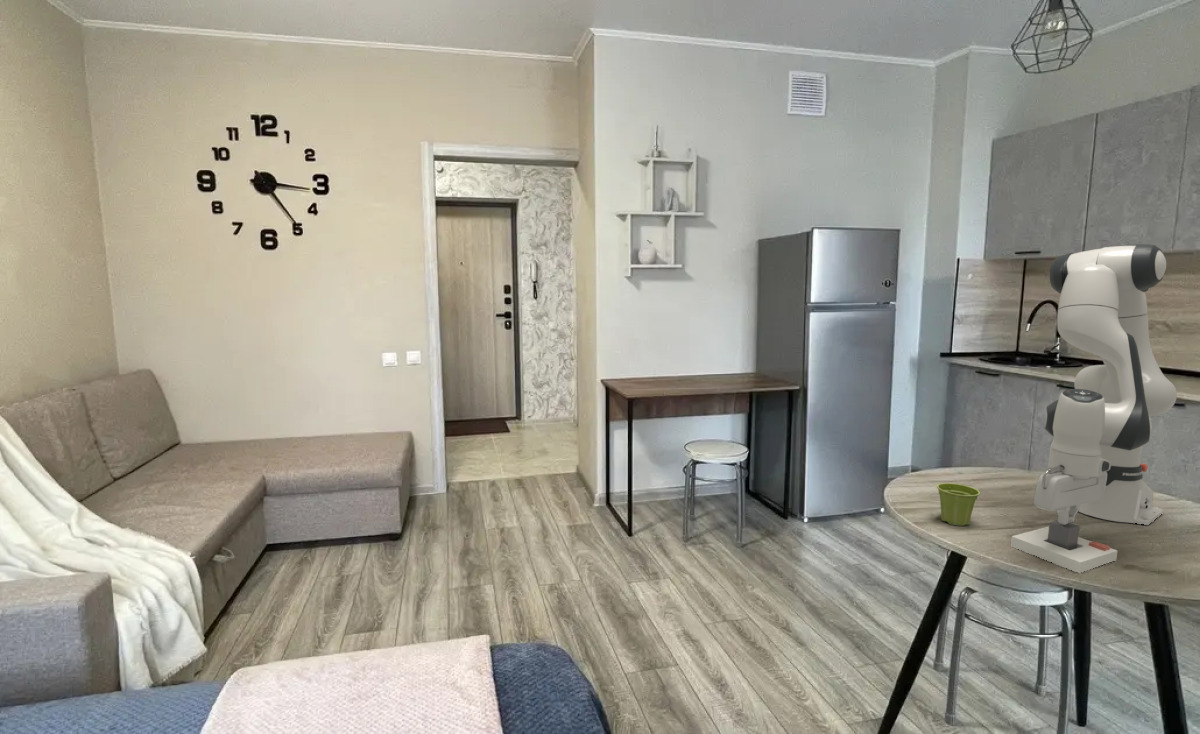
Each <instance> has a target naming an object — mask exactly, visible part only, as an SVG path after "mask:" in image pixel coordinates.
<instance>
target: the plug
mask: <svg viewBox="0 0 1200 734" xmlns="http://www.w3.org/2000/svg"><path fill="white" fill-rule="evenodd" d="M1048 527H1049V532H1048V540H1047V542H1048V543H1051V544H1054V545H1056V546H1059V547H1062V548H1065V549H1067V550H1073V549H1076V548H1077V543H1078V537H1079V535H1080V529H1081V528H1080V527H1081V526H1080V525H1078V524H1075V523H1074V522H1073V523H1069V524H1066V525H1064V524H1061V523H1059V522H1058V519H1057V520H1052V521H1050V522H1049V524H1048Z"/></svg>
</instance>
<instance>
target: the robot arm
mask: <svg viewBox="0 0 1200 734" xmlns="http://www.w3.org/2000/svg"><path fill="white" fill-rule="evenodd" d="M1166 270H1167V259H1166V256H1165V255H1164V252H1163V250H1162V248H1160V247H1158V246H1157V245H1155V244H1147V243H1145V244H1144V243H1138V244H1136V245H1118V246H1117V245H1116V246H1115V245H1114V246H1106V247H1105V246H1104V247H1102V248H1095V249H1090V250H1084V251H1080V252H1079V251H1078V252H1075V253H1074V252H1069V253H1066V254H1063V255H1059V256H1058V257H1057V258H1055V259H1054V260H1053V261H1052V263H1051V265H1050V268H1049V275H1048V276H1049V277H1048V278H1049V283H1050V286H1051V288H1052V289H1053V290H1054V291H1055V292H1057V293H1059V294H1060V296H1059V301H1058V306H1057V316H1056V317H1057V318H1056V321H1057V322H1056V324H1057V325H1056V326H1057V332H1058V334H1059V335H1060V337H1061V338H1062V340H1064V341H1065V342H1066V343H1068V344H1069V345H1071V346H1073V347H1074V348H1077V349H1078V350H1081V351H1084V352H1087V353H1089V354H1092V355H1095V356H1097V357H1100V358H1101V359H1102V362H1103V364H1095V365H1089V366H1086V367H1084V368H1082V369H1081V370H1080V371H1078V373H1077V374H1076V376H1075V378H1074V383H1073V385H1074V388H1070V389H1066V390H1065V389H1064V390H1063V391H1062V392H1061V393H1060V394H1059V397H1058V399H1057V400H1055V401H1053V402H1052V403H1050V404H1049V405H1047V406H1046V413H1047V414H1046V421H1045V424H1044V425H1045V426H1044V428H1043V429H1044V430H1045V431H1046V432H1047V433H1048V434H1049V435H1050V436H1052V437H1053V439H1052V442H1051V444H1050V446H1049V447H1050V448H1049V454H1048V462H1047V469H1046V471H1045V472H1044V473H1043V474H1040V476H1039V478H1038V481H1037V484H1036V487H1035V488H1036V489H1035V493H1034V497H1033V498H1034V499H1033V504H1034V506H1035V507H1036V508H1038V509H1041V510H1044V511H1048V512H1054V511H1056V513H1057V520H1058V522H1059V523H1061V524H1064V525H1066V524H1069V523H1073V524H1074V522H1075V520H1076V519H1075V518H1076V515H1077V514H1078V513H1081V514H1084V515H1087V516H1090V517H1094V518H1097V519H1102V520H1105V521H1112V522H1119V523H1130V524H1135V523H1137V525H1141V524H1144V525H1143V526H1150V525H1151V524H1152V523H1153V522H1155V521H1156V520H1157V519H1158V518H1160V517H1161V516H1162V515H1163V514H1164V510H1163V509H1162V508H1160V507H1157V506H1155V505H1153V500H1154V491H1153V489H1152V488H1151V487H1149V485H1148V484H1147V483H1146V482H1145V481H1144V480H1143V476H1144V475H1143V474H1144V472H1146V471H1147V470H1148V464H1146V463H1141V460H1142V455H1143V454H1142V453H1143V447H1144V445H1146V444H1147V443H1148V442H1150V438H1151V436H1152V432H1153V425H1152V420H1151V417H1153V416H1155V417H1156V416H1161V415H1163V414H1165V413H1167V412H1168V411H1170V410H1171V409H1172V407H1173V406H1174V405H1175V404H1176V402H1177V398H1178V396H1177V395H1178V392H1177V389H1176V386H1175V385H1174V384H1173V382H1171V381H1170V380H1169V379H1168V378H1167V377H1166V376H1165V375H1164V373H1163V371H1162V370H1161V368H1160V366H1159V364H1158V362H1157V360H1156V358H1155V355H1154V352H1153V349H1152V346H1151V341H1150V330H1149V319H1148V318H1149V316H1148V315H1149V313H1148V301H1147V296H1146V292H1148V291H1149V289H1151V288H1154V287H1156V285H1157V284H1159V283H1160V282H1161V281H1162V280H1163V278H1164V275H1165V272H1166ZM1150 416H1151V417H1150ZM1162 513H1163V514H1162ZM1161 514H1162V515H1161ZM1160 515H1161V516H1160ZM1159 516H1160V517H1159ZM1157 517H1158V518H1157ZM1156 518H1157V519H1156ZM1155 519H1156V520H1155ZM1154 520H1155V521H1154ZM1151 522H1152V523H1151ZM1150 523H1151V524H1150ZM1149 524H1150V525H1149Z"/></svg>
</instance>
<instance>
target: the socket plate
mask: <svg viewBox="0 0 1200 734" xmlns="http://www.w3.org/2000/svg"><path fill="white" fill-rule="evenodd" d="M1048 532H1049V526H1045V527H1042V528H1041V527H1040V528H1038V529H1034V530H1031V531H1030V530H1029V531H1027V532H1023V533H1019V534H1014V535H1012V536H1011V540H1010V547H1011V548H1013V549H1016V550H1018V549H1019V550H1018V551H1021V550H1022V551H1021V552H1023V551H1024V552H1023V553H1026V554H1028V553H1029V555H1031V554H1032V555H1031V556H1033V555H1035V556H1034V557H1036V556H1037V558H1038V557H1040V558H1039V559H1041V558H1042V559H1041V560H1043V559H1044V561H1046V560H1047V562H1048V563H1051V562H1052V563H1051V564H1054V565H1057V566H1059V567H1061V566H1062V568H1063V569H1066V568H1067V569H1066V570H1070V571H1071V570H1072V572H1074V573H1076V572H1078V573H1077V574H1081V572H1082V573H1085V572H1088V571H1091V570H1094V569H1096V568H1095V567H1097V568H1099V567H1098V566H1100V565H1103V564H1106V563H1109V562H1112V561H1115V562H1117V559H1118V558H1117V557H1118V550H1117V549H1114V548H1111V547H1110V546H1111V545H1110V546H1109V545H1107V544H1103V543H1101V542H1098V541H1097V540H1096V541H1095V540H1093V541H1091V540H1088V539H1085V538H1083V537H1079V536H1078V543H1077V548H1076V549H1073V550H1067V549H1065V548H1062V547H1059V546H1056V545H1054V544H1051V543H1048V542H1047V540H1048ZM1112 563H1113V562H1112ZM1109 564H1110V563H1109ZM1106 565H1107V564H1106ZM1103 566H1104V565H1103ZM1100 567H1101V566H1100ZM1093 568H1094V569H1093ZM1090 569H1091V570H1090ZM1087 570H1088V571H1087ZM1084 571H1085V572H1084Z"/></svg>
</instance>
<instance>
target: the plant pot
mask: <svg viewBox="0 0 1200 734" xmlns="http://www.w3.org/2000/svg"><path fill="white" fill-rule="evenodd" d="M936 488H937V489H938V494H939V499H940V500H939V502H940V516H941V517H940V518H941V519H940V520H942V521H943V522H947V523H948V524H949V525H954V526H959V527H960V526H961V527H963V526H966V525H967V526H968V525H969V524H970V521H971V517H972V514H973V510H974V506H975V503H976V501H977V498H978V497H979V496H980V494H981V491H979V489H977V488H974V487H971V486H969V485H965V484H961V483H954V482H944V483H938V484H937V485H936Z"/></svg>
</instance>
